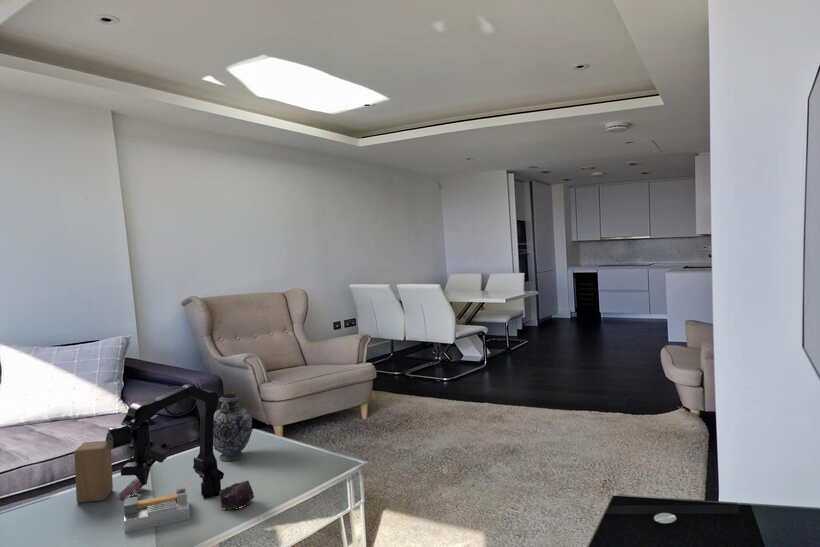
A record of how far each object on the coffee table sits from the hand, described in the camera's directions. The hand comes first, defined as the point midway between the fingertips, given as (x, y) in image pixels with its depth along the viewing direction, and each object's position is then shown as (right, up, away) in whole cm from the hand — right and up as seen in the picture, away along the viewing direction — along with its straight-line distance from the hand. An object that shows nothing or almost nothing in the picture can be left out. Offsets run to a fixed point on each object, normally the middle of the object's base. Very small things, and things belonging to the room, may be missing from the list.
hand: (144, 484), depth 191 cm
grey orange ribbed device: (+3, -12, +3) cm, 13 cm away
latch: (-4, -8, -1) cm, 9 cm away
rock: (+29, -12, +9) cm, 33 cm away
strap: (+2, -8, +4) cm, 9 cm away
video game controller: (-15, -12, +22) cm, 29 cm away
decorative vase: (+12, -10, +57) cm, 59 cm away
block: (-28, -12, +20) cm, 36 cm away
